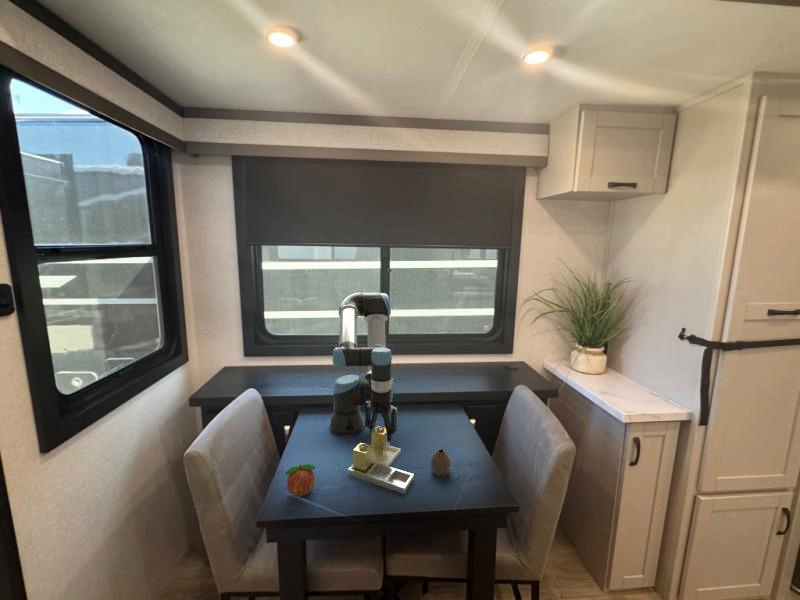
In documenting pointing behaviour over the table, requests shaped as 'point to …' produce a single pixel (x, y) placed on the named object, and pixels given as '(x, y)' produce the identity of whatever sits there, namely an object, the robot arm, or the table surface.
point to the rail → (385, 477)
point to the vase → (440, 463)
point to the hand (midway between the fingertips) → (380, 446)
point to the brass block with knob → (362, 457)
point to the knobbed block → (379, 441)
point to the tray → (387, 456)
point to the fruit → (300, 480)
